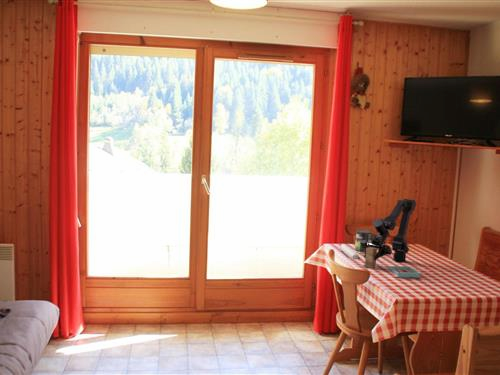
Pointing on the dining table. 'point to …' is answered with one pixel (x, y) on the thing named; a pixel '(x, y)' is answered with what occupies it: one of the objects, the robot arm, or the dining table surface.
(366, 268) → the stud mount
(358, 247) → the coffee can
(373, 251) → the strut
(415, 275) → the teal flat square frame
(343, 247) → the tube
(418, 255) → the dining table surface
